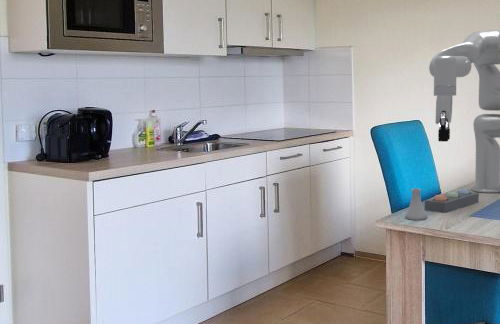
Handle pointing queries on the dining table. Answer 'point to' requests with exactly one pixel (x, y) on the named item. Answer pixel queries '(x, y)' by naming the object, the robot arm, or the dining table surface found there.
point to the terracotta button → (440, 198)
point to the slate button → (463, 191)
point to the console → (452, 202)
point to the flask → (416, 207)
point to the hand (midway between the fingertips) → (444, 140)
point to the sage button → (452, 194)
